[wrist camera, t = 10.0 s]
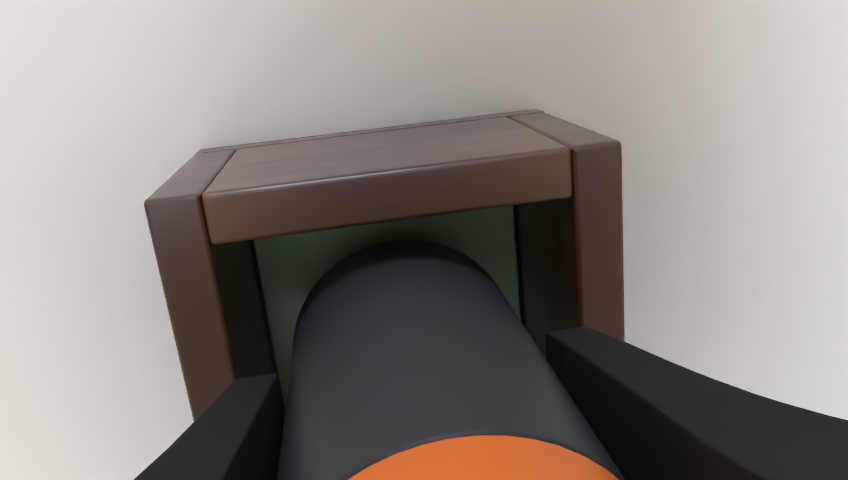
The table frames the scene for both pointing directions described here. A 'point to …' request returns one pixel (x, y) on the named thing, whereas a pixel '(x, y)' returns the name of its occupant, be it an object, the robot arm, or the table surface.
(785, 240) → the table surface
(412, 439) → the grey and orange cylinder
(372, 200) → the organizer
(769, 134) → the table surface
